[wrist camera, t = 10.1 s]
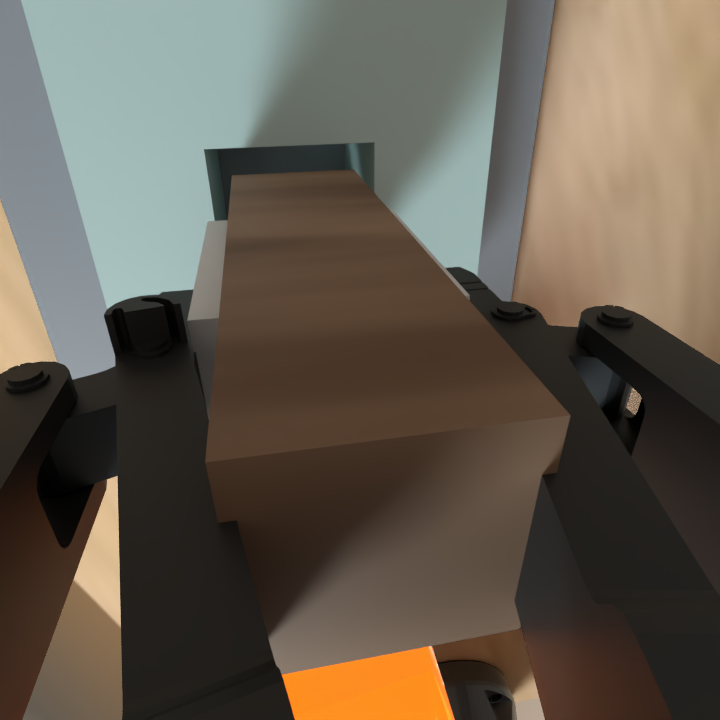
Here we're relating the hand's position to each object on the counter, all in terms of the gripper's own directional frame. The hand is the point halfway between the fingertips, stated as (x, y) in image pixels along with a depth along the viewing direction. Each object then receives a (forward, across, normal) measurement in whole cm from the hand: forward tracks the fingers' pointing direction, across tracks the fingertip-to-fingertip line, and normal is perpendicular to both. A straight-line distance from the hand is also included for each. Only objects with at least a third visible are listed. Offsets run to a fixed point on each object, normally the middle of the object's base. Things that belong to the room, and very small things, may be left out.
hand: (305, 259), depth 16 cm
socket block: (+11, 0, 0) cm, 11 cm away
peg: (+3, 0, 0) cm, 3 cm away
